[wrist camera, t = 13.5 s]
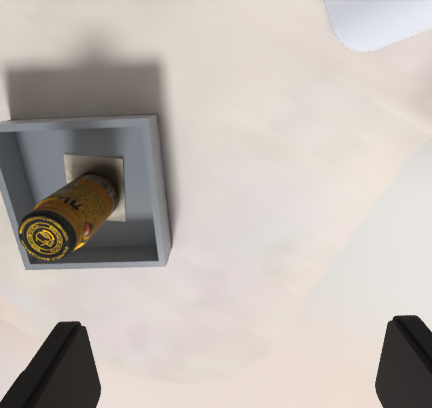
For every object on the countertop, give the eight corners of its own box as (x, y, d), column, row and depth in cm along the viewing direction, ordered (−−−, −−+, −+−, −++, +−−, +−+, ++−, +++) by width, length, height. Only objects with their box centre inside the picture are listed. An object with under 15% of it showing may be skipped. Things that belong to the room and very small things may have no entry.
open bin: (10, 120, 37) (-21, 125, 32) (157, 113, 36) (148, 118, 32) (46, 250, 43) (25, 269, 39) (172, 246, 43) (165, 266, 38)
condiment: (71, 216, 40) (13, 267, 29) (64, 153, 37) (-4, 183, 26) (126, 220, 40) (89, 273, 29) (123, 158, 37) (81, 189, 26)
